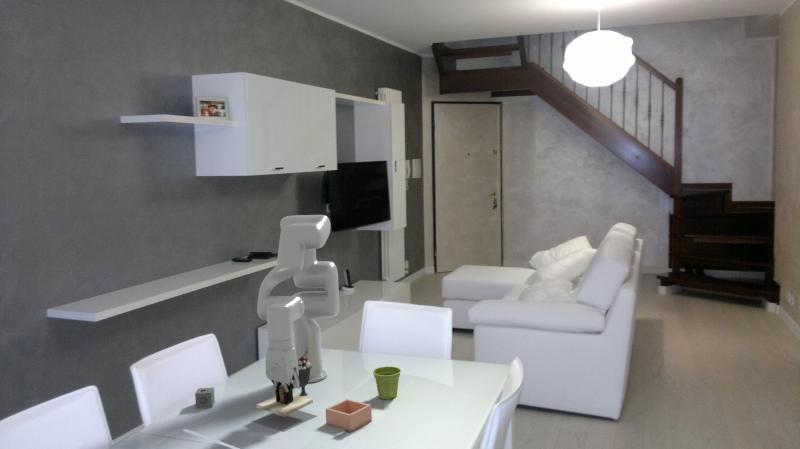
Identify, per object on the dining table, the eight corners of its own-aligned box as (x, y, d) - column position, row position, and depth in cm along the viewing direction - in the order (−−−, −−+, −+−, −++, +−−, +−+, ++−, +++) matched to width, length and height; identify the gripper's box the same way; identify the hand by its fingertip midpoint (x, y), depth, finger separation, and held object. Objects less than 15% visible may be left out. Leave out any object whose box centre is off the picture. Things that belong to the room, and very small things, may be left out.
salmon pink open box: (326, 425, 194) (325, 408, 193) (347, 414, 201) (347, 398, 201) (350, 432, 188) (350, 415, 188) (371, 421, 196) (371, 405, 195)
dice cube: (199, 403, 215) (198, 388, 215) (214, 402, 216) (213, 387, 215) (196, 408, 210) (195, 393, 210) (211, 407, 211) (211, 392, 210)
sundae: (317, 393, 221) (315, 350, 219) (307, 400, 214) (305, 356, 213) (299, 392, 223) (297, 349, 221) (289, 398, 216) (287, 354, 215)
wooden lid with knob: (256, 407, 198) (255, 388, 197) (285, 394, 207) (284, 376, 206) (284, 416, 191) (282, 397, 190) (312, 402, 200) (311, 383, 199)
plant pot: (398, 402, 211) (398, 375, 210) (370, 400, 213) (369, 374, 212) (404, 391, 220) (403, 366, 219) (377, 390, 222) (376, 365, 221)
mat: (251, 423, 197) (251, 421, 197) (285, 408, 208) (285, 406, 208) (283, 433, 188) (283, 431, 188) (317, 417, 200) (317, 415, 200)
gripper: (253, 342, 198) (257, 400, 201) (291, 351, 188) (294, 412, 191) (272, 335, 204) (275, 392, 207) (309, 344, 194) (312, 403, 197)
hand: (284, 401), depth 199 cm, fingers closed on wooden lid with knob, 2 cm apart
